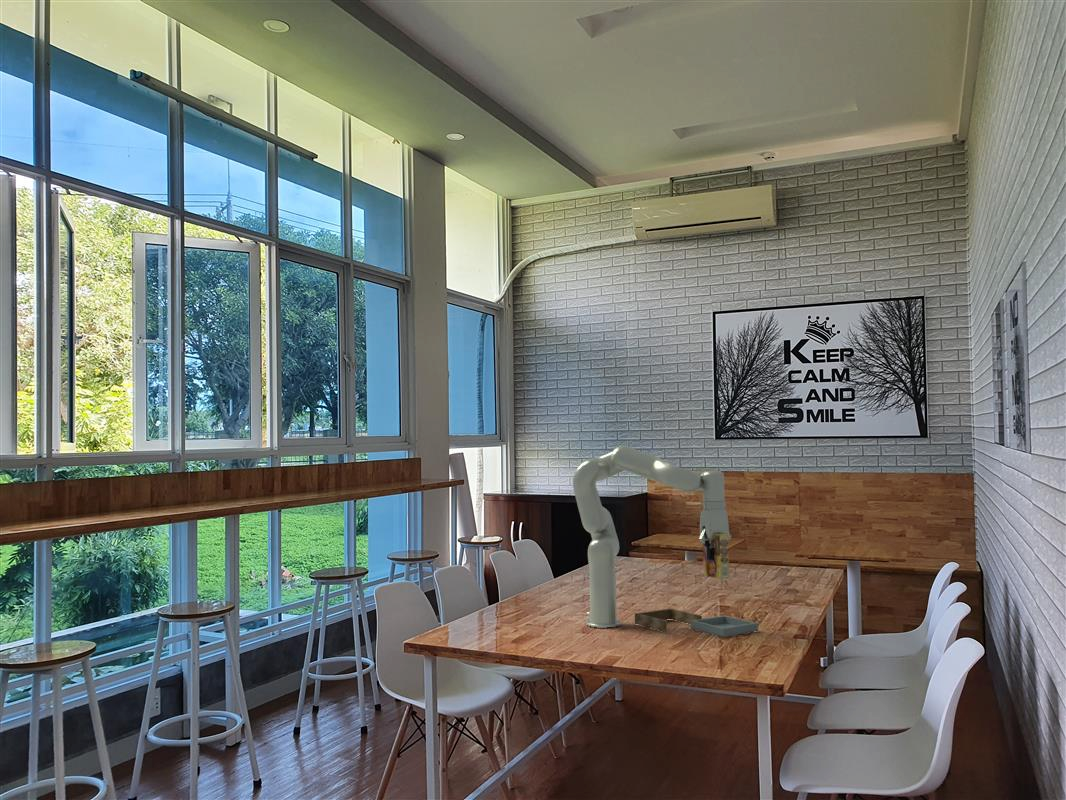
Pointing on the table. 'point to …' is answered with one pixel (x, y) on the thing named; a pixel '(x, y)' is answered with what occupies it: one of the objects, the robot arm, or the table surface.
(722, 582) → the table surface
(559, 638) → the table surface
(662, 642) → the table surface
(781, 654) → the table surface
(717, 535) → the candy box
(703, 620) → the slate tray
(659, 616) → the walnut bay
